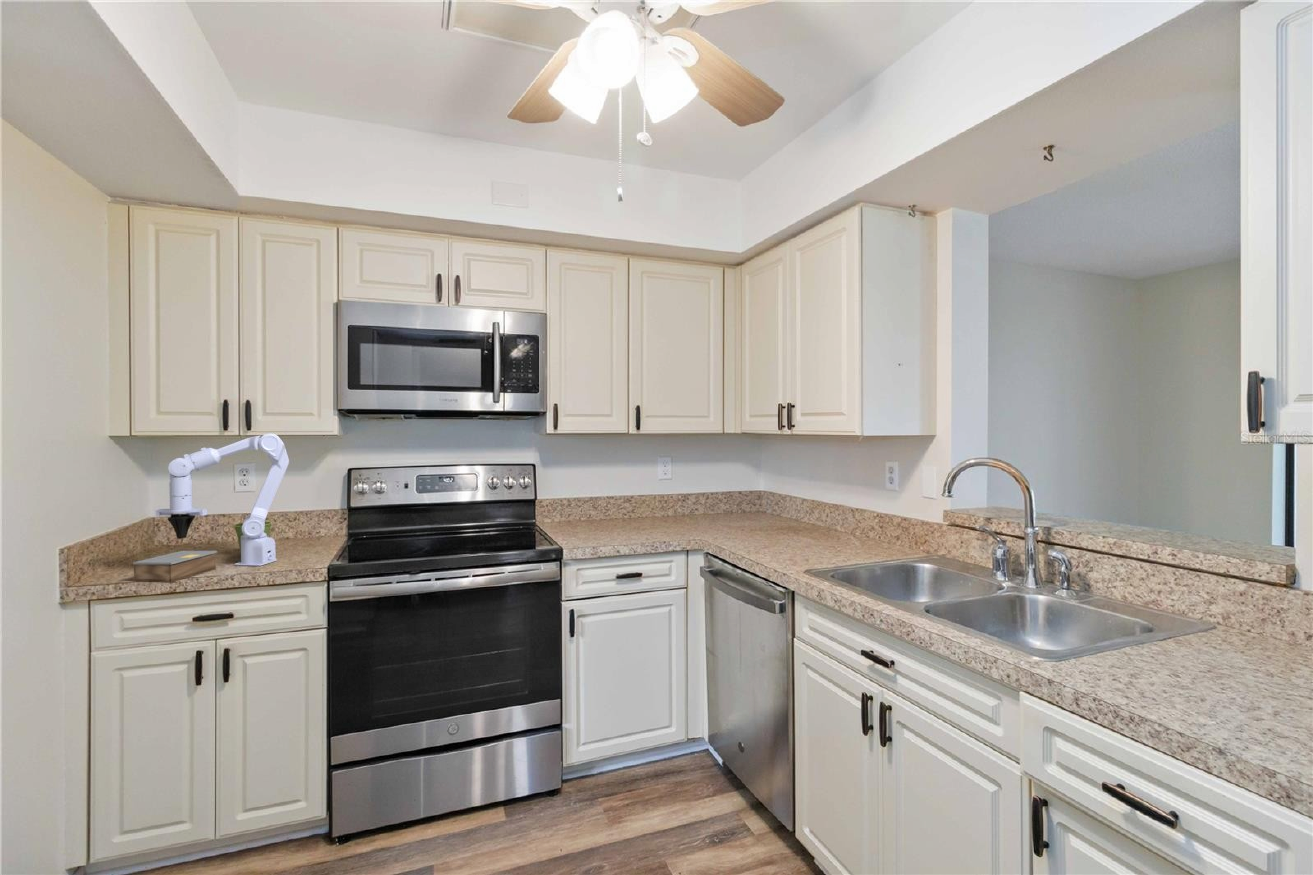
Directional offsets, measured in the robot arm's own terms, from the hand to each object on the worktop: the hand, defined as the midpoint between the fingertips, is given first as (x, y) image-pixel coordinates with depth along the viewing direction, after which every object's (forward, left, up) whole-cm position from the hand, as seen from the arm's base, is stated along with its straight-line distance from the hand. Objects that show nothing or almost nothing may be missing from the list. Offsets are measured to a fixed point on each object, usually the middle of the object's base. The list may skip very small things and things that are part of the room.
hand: (181, 538), depth 191 cm
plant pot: (-5, -24, -11) cm, 26 cm away
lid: (-3, +5, -5) cm, 8 cm away
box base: (-3, +5, -10) cm, 12 cm away
